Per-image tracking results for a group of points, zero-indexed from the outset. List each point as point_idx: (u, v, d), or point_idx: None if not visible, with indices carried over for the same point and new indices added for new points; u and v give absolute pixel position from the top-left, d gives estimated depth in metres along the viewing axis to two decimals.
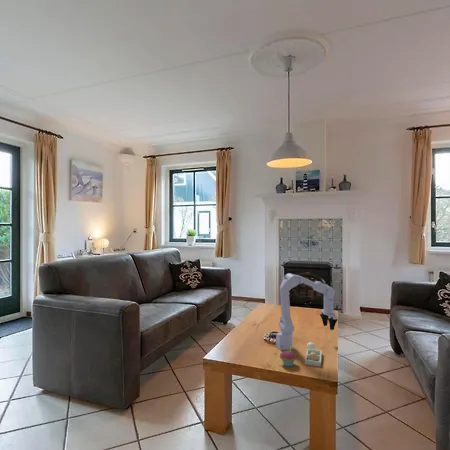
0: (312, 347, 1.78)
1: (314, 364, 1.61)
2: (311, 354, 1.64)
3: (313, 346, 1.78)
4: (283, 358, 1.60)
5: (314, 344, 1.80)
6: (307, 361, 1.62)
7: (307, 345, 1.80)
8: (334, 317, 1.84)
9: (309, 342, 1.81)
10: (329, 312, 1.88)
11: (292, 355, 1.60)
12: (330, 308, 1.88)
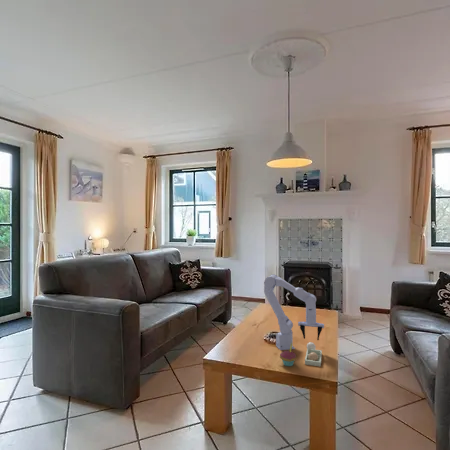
0: (312, 347, 1.78)
1: (314, 364, 1.61)
2: (311, 354, 1.64)
3: (313, 346, 1.78)
4: (283, 358, 1.60)
5: (314, 344, 1.80)
6: (307, 361, 1.62)
7: (307, 345, 1.80)
8: (323, 325, 1.78)
9: (309, 342, 1.81)
10: (315, 322, 1.79)
11: (292, 355, 1.60)
12: (315, 317, 1.79)
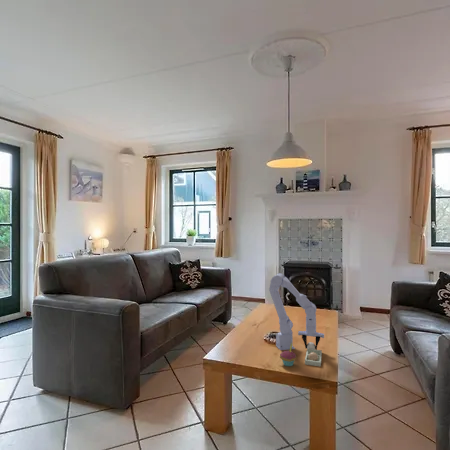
0: (312, 347, 1.78)
1: (314, 364, 1.61)
2: (311, 354, 1.64)
3: (313, 346, 1.78)
4: (283, 358, 1.60)
5: (314, 344, 1.80)
6: (307, 361, 1.62)
7: (307, 345, 1.80)
8: (323, 335, 1.78)
9: (309, 342, 1.81)
10: (315, 332, 1.79)
11: (292, 355, 1.60)
12: (315, 327, 1.79)
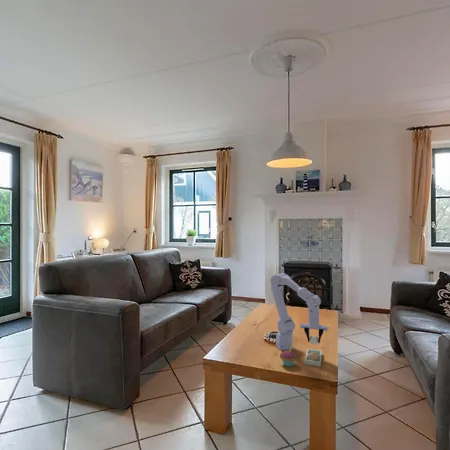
0: (315, 340, 1.70)
1: (314, 364, 1.61)
2: (311, 354, 1.64)
3: (316, 340, 1.70)
4: (283, 358, 1.60)
5: (317, 337, 1.72)
6: (307, 361, 1.62)
7: (310, 338, 1.72)
8: None
9: (312, 335, 1.73)
10: (318, 324, 1.71)
11: (292, 355, 1.60)
12: None
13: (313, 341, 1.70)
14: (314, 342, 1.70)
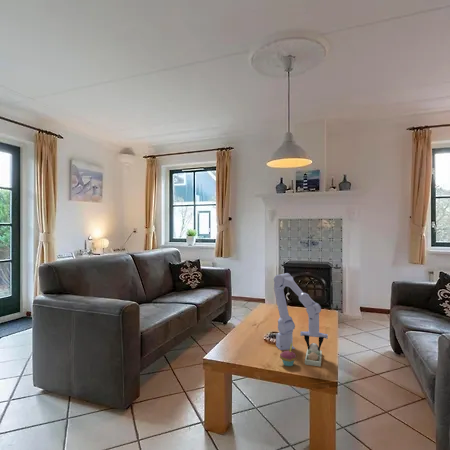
0: (315, 348, 1.70)
1: (314, 364, 1.61)
2: (311, 354, 1.64)
3: (316, 347, 1.70)
4: (283, 358, 1.60)
5: (317, 345, 1.72)
6: (307, 361, 1.62)
7: (310, 346, 1.72)
8: None
9: (312, 343, 1.73)
10: (318, 332, 1.71)
11: (292, 355, 1.60)
12: None
13: (313, 349, 1.70)
14: (314, 350, 1.70)
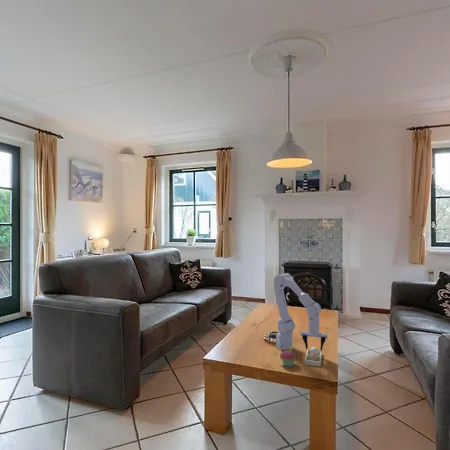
0: (315, 352, 1.70)
1: (314, 364, 1.61)
2: (311, 354, 1.64)
3: (317, 352, 1.70)
4: (283, 358, 1.60)
5: None
6: (307, 361, 1.62)
7: (310, 350, 1.72)
8: None
9: (312, 347, 1.73)
10: (318, 332, 1.71)
11: (292, 355, 1.60)
12: None
13: None
14: None
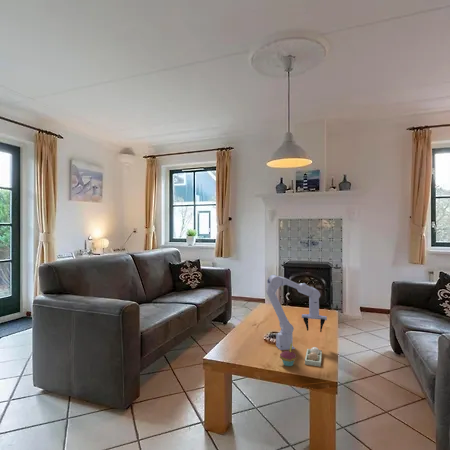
0: (316, 353, 1.70)
1: (314, 364, 1.61)
2: (311, 354, 1.64)
3: (318, 352, 1.70)
4: (283, 358, 1.60)
5: None
6: (307, 361, 1.62)
7: (311, 349, 1.72)
8: (326, 318, 1.84)
9: (314, 347, 1.73)
10: (318, 314, 1.85)
11: (292, 355, 1.60)
12: (318, 310, 1.86)
13: None
14: None
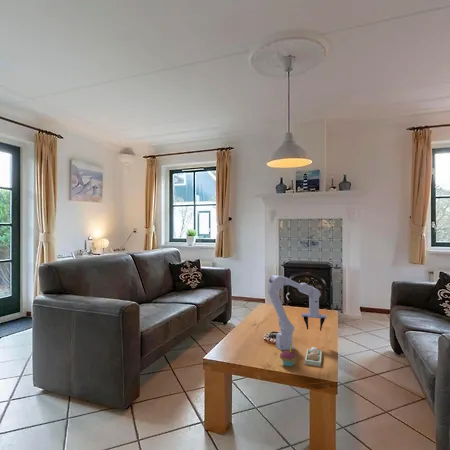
0: (315, 352, 1.70)
1: (314, 364, 1.61)
2: (311, 354, 1.64)
3: (317, 352, 1.70)
4: (283, 358, 1.60)
5: (317, 349, 1.72)
6: (307, 361, 1.62)
7: (310, 350, 1.72)
8: None
9: (312, 347, 1.73)
10: (318, 313, 1.88)
11: (292, 355, 1.60)
12: (318, 309, 1.88)
13: None
14: None
